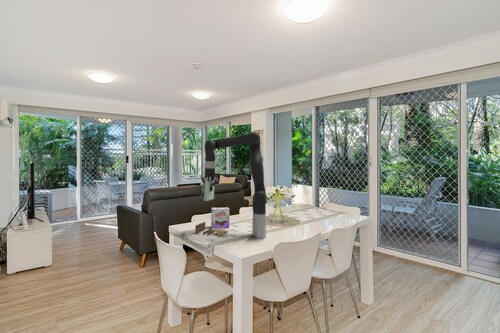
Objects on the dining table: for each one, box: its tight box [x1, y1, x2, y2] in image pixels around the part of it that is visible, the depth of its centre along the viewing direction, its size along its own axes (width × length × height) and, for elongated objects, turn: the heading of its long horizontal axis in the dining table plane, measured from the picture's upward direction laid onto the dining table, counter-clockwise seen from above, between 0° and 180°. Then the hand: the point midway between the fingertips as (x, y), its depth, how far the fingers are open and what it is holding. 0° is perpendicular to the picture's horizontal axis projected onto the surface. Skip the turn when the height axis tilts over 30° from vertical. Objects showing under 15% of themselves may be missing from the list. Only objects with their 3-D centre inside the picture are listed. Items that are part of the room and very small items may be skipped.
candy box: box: [210, 207, 231, 230], centre depth 219 cm, size 14×6×16 cm, turn 101°
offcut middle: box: [216, 232, 226, 238], centre depth 200 cm, size 5×10×2 cm, turn 11°
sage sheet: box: [203, 180, 215, 202], centre depth 205 cm, size 2×11×14 cm, turn 160°
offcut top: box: [213, 228, 229, 235], centre depth 200 cm, size 5×10×2 cm, turn 48°
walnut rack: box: [194, 221, 215, 236], centre depth 204 cm, size 10×12×7 cm
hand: (209, 191), depth 205 cm, fingers closed on sage sheet, 2 cm apart
